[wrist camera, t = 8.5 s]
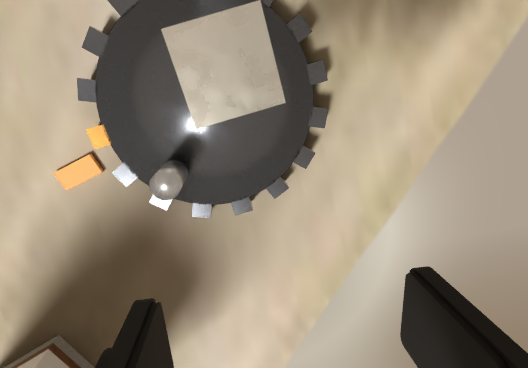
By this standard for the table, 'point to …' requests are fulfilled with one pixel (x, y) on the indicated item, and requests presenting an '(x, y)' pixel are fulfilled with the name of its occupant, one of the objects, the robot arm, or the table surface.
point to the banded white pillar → (52, 356)
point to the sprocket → (203, 99)
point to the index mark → (78, 172)
